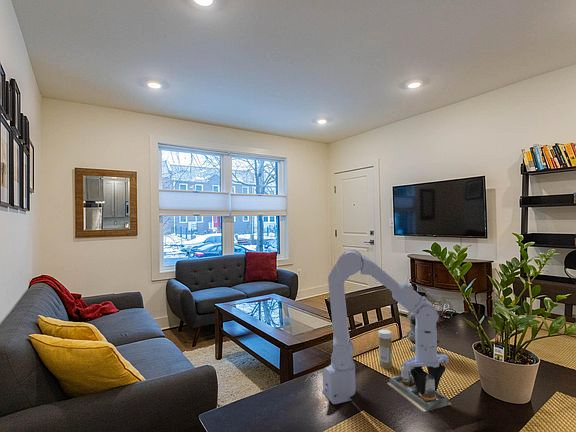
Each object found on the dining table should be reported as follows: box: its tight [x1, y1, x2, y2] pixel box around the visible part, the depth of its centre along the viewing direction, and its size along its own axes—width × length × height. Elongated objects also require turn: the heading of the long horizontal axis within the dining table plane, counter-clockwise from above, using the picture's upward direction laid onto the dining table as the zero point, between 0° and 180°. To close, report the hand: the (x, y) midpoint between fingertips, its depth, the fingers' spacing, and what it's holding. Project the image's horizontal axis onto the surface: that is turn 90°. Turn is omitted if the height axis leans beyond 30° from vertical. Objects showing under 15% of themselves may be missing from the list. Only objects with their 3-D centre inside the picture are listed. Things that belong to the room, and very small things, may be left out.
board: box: [386, 374, 452, 412], centre depth 95 cm, size 10×16×3 cm, turn 19°
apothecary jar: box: [406, 311, 441, 353], centre depth 127 cm, size 12×12×18 cm
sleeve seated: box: [400, 363, 416, 388], centre depth 99 cm, size 5×5×6 cm
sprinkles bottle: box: [377, 329, 393, 370], centre depth 113 cm, size 5×5×13 cm
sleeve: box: [419, 374, 436, 402], centre depth 91 cm, size 5×5×6 cm
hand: (426, 390), depth 91 cm, fingers closed on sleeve, 4 cm apart
